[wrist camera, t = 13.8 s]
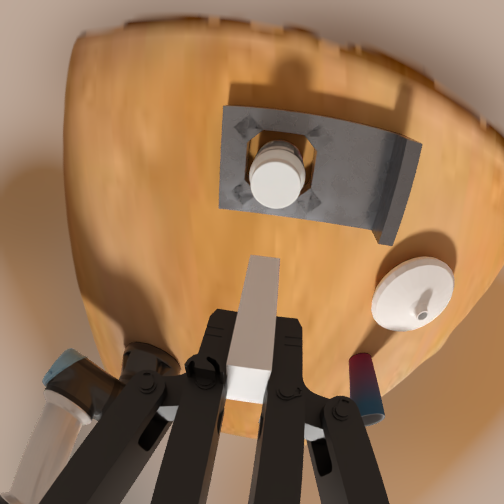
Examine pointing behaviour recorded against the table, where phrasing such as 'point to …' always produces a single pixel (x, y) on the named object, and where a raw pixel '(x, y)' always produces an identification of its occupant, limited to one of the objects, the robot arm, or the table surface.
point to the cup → (365, 389)
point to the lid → (412, 294)
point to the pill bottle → (277, 174)
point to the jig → (325, 169)
